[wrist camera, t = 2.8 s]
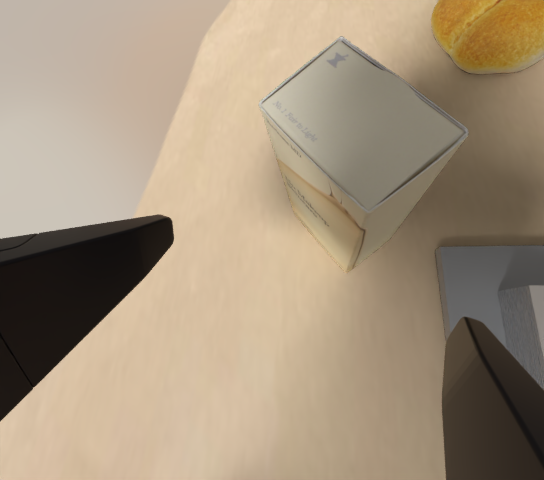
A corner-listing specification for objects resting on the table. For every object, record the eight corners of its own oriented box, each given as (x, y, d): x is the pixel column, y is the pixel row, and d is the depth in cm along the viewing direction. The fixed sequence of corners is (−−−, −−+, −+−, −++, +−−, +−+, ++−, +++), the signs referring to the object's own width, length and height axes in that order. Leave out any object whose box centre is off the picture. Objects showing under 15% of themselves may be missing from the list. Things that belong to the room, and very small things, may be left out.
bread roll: (477, 98, 22) (506, 52, 18) (411, 27, 25) (424, -25, 21) (582, 45, 21) (635, -15, 18) (502, -22, 24) (532, -85, 21)
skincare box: (293, 214, 22) (248, 102, 11) (337, 178, 22) (338, 28, 11) (348, 277, 20) (364, 219, 9) (397, 237, 20) (476, 127, 9)
